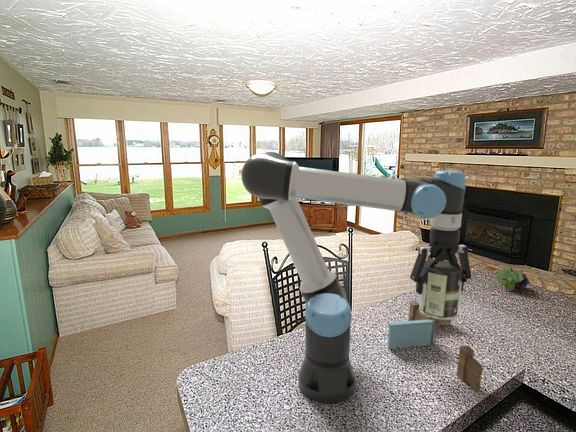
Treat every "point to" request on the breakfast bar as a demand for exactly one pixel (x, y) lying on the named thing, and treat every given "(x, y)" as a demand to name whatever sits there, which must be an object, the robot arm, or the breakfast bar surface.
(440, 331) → the breakfast bar surface
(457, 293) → the coffee can
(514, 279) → the green and purple plant
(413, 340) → the light blue flat block
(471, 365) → the fence
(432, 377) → the breakfast bar surface
